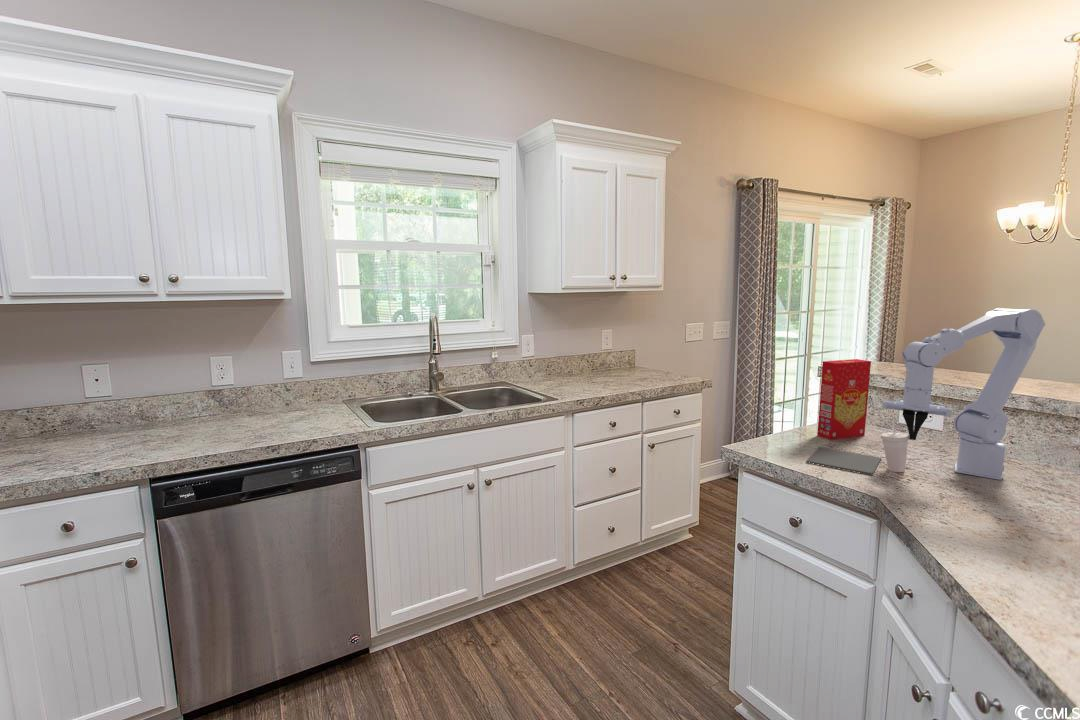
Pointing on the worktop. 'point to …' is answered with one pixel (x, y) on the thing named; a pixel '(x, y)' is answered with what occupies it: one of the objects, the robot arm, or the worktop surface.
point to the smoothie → (895, 449)
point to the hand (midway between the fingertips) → (912, 439)
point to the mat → (845, 460)
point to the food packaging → (843, 398)
